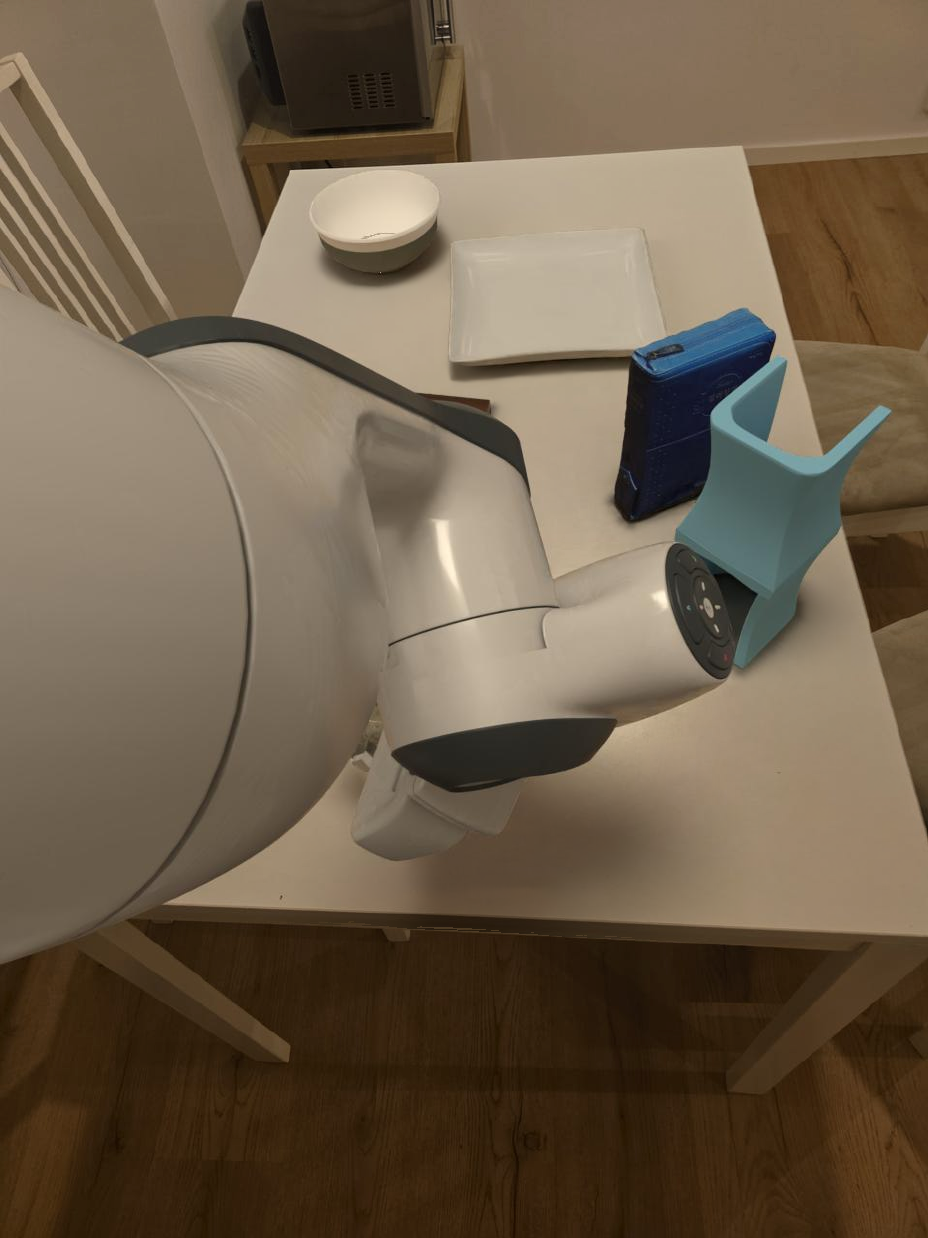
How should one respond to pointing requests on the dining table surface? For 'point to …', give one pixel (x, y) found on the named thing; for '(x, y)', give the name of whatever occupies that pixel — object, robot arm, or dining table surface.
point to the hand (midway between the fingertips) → (372, 729)
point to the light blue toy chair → (767, 504)
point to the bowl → (377, 219)
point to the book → (682, 407)
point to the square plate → (552, 297)
